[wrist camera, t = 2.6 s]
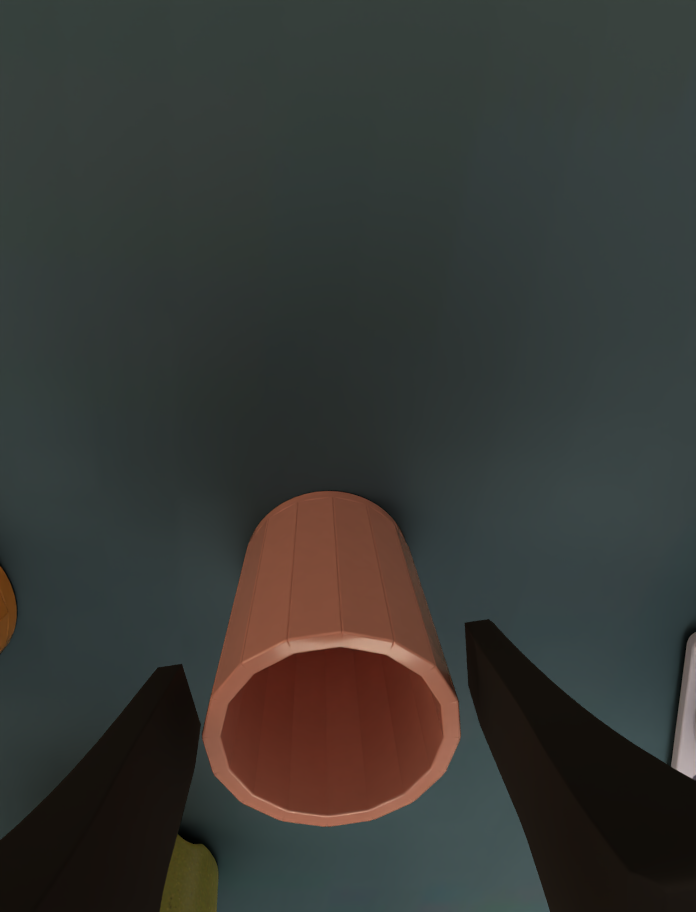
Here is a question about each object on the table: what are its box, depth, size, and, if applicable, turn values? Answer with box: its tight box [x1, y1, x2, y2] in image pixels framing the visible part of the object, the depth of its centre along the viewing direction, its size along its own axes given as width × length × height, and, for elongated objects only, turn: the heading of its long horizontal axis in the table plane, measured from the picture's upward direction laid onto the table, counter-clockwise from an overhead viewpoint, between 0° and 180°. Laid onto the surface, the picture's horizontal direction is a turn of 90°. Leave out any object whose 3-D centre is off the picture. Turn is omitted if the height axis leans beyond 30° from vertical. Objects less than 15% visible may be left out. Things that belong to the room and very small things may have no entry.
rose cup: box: [202, 491, 461, 827], centre depth 15 cm, size 6×6×7 cm
